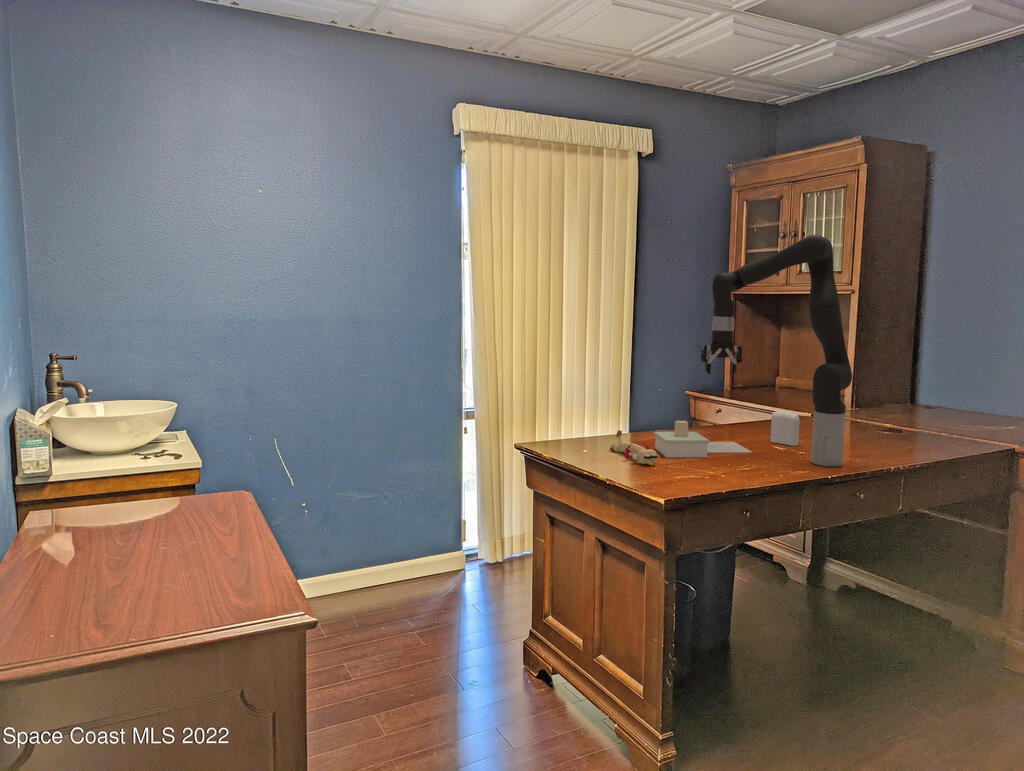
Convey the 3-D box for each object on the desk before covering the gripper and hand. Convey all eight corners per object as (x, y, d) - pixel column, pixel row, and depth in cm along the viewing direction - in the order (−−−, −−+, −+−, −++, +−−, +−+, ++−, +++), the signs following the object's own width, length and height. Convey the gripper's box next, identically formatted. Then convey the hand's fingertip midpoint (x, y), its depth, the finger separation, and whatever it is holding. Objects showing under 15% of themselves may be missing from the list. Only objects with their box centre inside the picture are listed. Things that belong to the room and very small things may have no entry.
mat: (752, 453, 247) (752, 452, 247) (704, 453, 246) (704, 452, 246) (733, 442, 264) (734, 441, 264) (689, 442, 263) (689, 441, 263)
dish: (706, 457, 239) (707, 442, 239) (666, 457, 238) (666, 442, 238) (693, 448, 253) (694, 434, 253) (655, 448, 252) (655, 434, 252)
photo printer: (768, 442, 266) (770, 409, 265) (774, 440, 269) (776, 408, 267) (793, 447, 258) (796, 413, 257) (799, 445, 261) (802, 412, 259)
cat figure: (604, 455, 247) (639, 466, 223) (604, 430, 246) (639, 438, 223) (629, 453, 250) (667, 464, 226) (629, 429, 250) (667, 437, 226)
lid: (709, 443, 238) (710, 425, 237) (665, 443, 237) (666, 425, 236) (695, 434, 253) (695, 418, 252) (653, 434, 252) (654, 417, 251)
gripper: (706, 329, 249) (703, 375, 251) (746, 330, 249) (743, 375, 252) (700, 328, 256) (697, 372, 259) (739, 329, 257) (736, 373, 259)
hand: (720, 374), depth 255 cm, fingers open, 8 cm apart
